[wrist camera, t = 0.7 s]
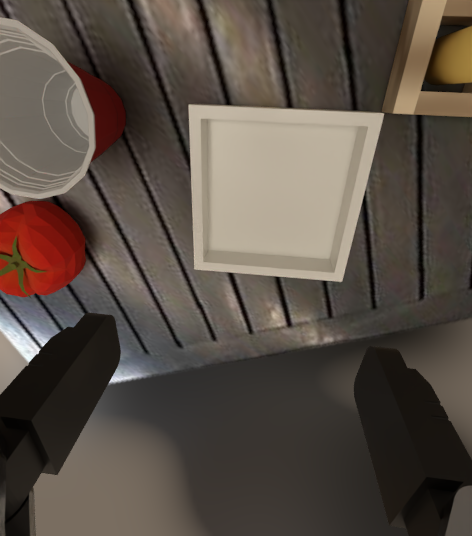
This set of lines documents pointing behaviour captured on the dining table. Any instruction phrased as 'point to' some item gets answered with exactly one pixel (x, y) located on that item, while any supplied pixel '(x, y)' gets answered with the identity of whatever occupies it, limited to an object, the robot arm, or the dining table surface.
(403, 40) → the socket block
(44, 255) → the tomato
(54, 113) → the plastic cup
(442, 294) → the dining table surface
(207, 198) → the tray
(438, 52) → the dowel
